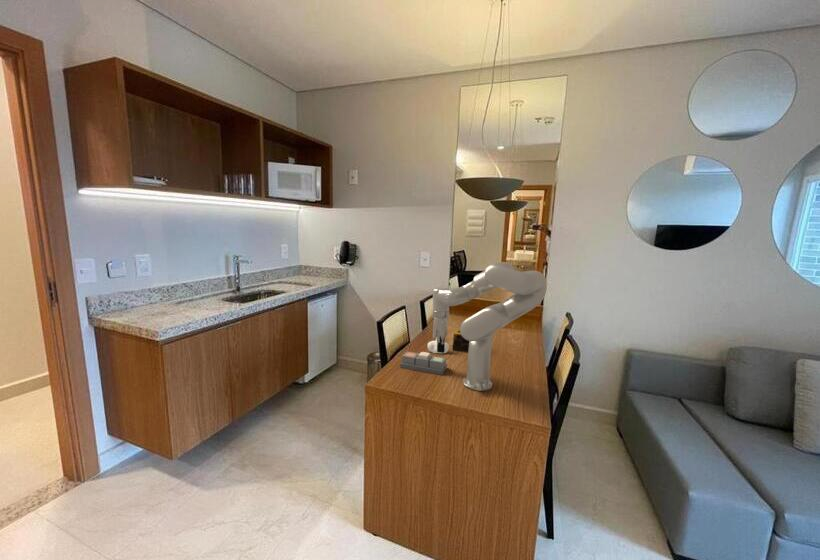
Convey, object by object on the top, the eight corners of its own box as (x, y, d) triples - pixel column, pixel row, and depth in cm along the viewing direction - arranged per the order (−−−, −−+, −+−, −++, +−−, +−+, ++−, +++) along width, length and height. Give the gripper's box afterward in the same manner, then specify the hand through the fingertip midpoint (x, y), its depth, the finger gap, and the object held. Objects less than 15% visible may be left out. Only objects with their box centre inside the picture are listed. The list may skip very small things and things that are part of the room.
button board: (446, 367, 163) (447, 357, 162) (442, 375, 155) (442, 363, 154) (406, 360, 170) (407, 350, 169) (400, 367, 162) (400, 356, 161)
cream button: (429, 359, 163) (429, 353, 163) (426, 362, 159) (427, 356, 159) (421, 357, 165) (421, 351, 164) (418, 360, 161) (418, 354, 160)
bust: (448, 356, 184) (450, 337, 189) (448, 352, 177) (450, 332, 183) (427, 354, 186) (429, 335, 191) (426, 350, 179) (428, 330, 185)
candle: (470, 352, 185) (471, 335, 183) (452, 350, 186) (453, 333, 185) (470, 346, 194) (471, 330, 193) (453, 344, 196) (454, 328, 195)
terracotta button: (415, 359, 166) (416, 353, 165) (413, 362, 162) (413, 356, 161) (407, 358, 167) (407, 352, 167) (404, 361, 163) (404, 355, 163)
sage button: (443, 364, 161) (443, 358, 161) (441, 367, 157) (441, 361, 157) (434, 362, 163) (434, 356, 162) (432, 366, 159) (432, 360, 158)
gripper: (437, 310, 164) (437, 346, 166) (428, 316, 150) (428, 356, 152) (452, 311, 161) (452, 347, 164) (444, 318, 147) (444, 358, 150)
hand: (440, 351), depth 158 cm, fingers closed
